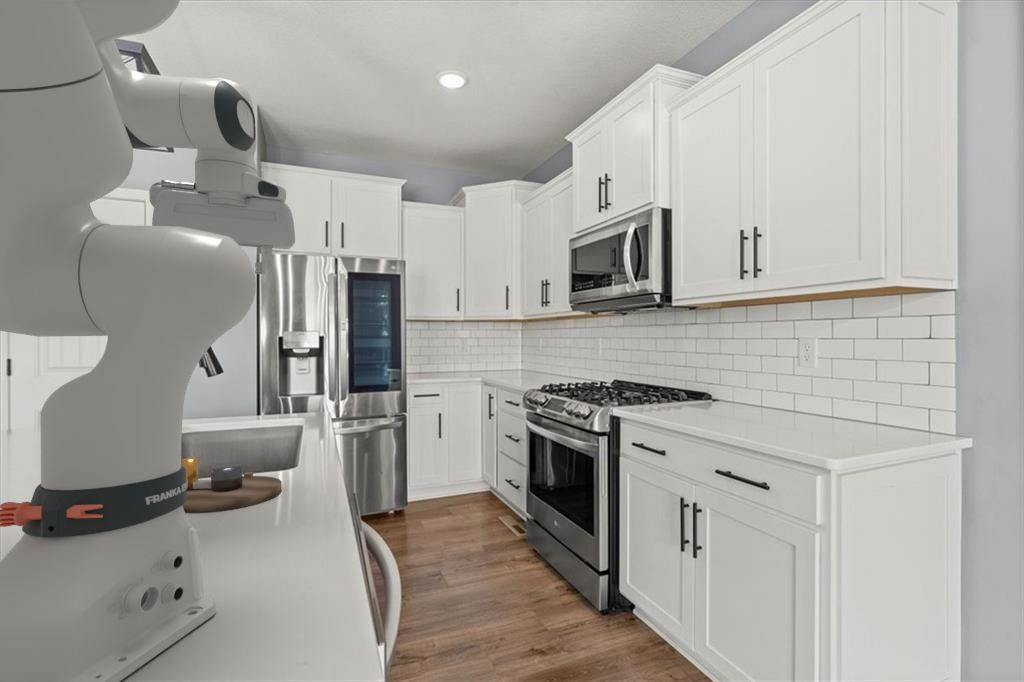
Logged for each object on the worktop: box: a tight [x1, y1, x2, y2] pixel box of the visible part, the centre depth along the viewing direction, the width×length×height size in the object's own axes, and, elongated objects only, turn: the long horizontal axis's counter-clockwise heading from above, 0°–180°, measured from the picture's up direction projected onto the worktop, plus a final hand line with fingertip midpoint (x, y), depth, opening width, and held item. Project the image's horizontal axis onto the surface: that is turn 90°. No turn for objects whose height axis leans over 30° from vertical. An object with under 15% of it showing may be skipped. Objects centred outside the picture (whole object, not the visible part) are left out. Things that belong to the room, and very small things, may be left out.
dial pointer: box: [181, 456, 244, 491], centre depth 94 cm, size 10×5×5 cm, turn 92°
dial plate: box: [183, 472, 283, 514], centre depth 94 cm, size 18×18×2 cm
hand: (228, 272), depth 85 cm, fingers open, 8 cm apart
